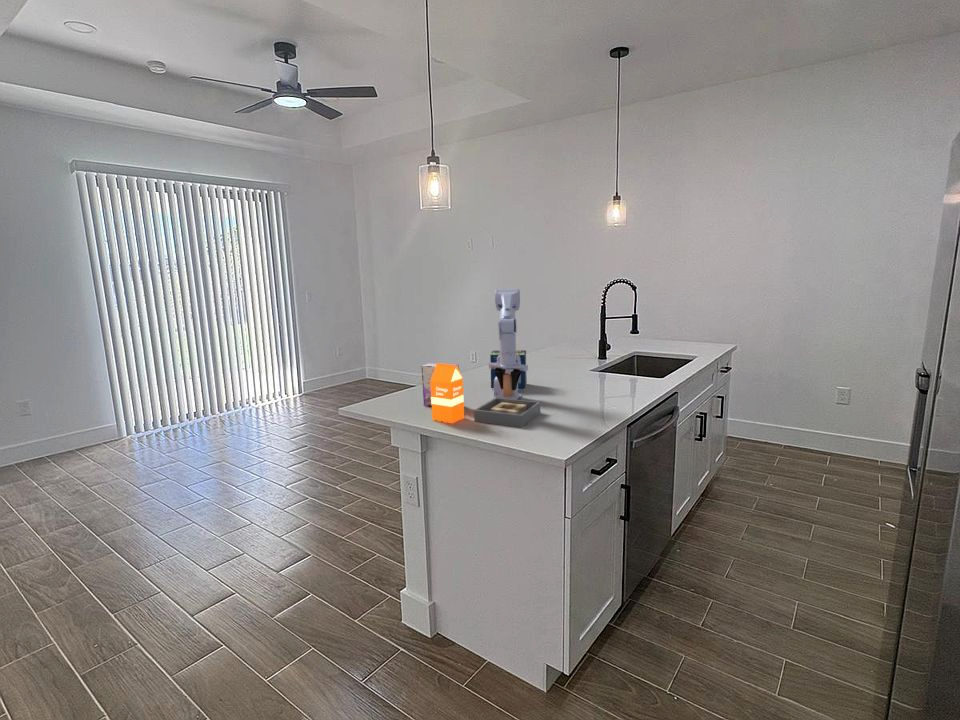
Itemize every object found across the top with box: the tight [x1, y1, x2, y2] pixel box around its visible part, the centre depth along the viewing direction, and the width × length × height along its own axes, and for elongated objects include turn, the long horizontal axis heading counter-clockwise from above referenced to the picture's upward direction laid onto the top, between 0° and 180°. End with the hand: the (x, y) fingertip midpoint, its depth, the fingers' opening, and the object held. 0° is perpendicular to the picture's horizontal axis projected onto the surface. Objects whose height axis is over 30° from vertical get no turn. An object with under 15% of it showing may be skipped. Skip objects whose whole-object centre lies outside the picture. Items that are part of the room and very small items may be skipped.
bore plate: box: [490, 402, 527, 415], centre depth 187 cm, size 10×10×2 cm
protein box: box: [489, 349, 528, 390], centre depth 228 cm, size 10×15×16 cm
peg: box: [503, 373, 514, 397], centre depth 185 cm, size 4×4×8 cm
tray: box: [473, 398, 541, 428], centre depth 184 cm, size 18×18×4 cm
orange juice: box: [430, 362, 465, 424], centre depth 182 cm, size 8×9×20 cm
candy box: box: [421, 362, 460, 407], centre depth 200 cm, size 14×6×16 cm, turn 65°
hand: (508, 389), depth 186 cm, fingers closed on peg, 4 cm apart
